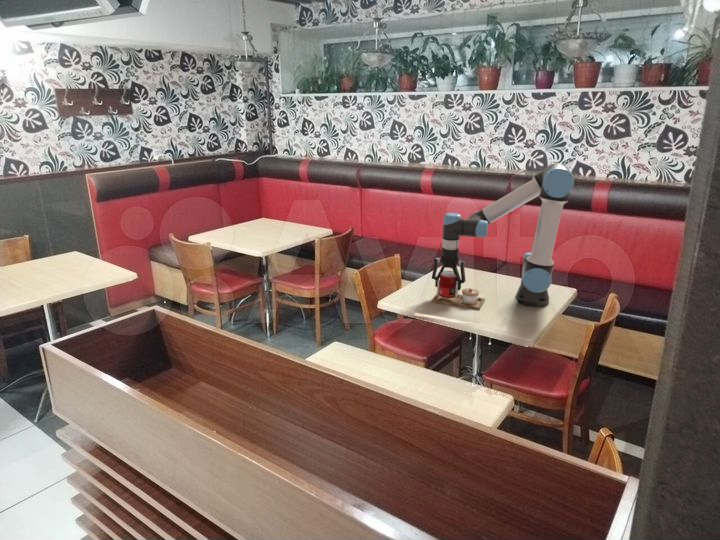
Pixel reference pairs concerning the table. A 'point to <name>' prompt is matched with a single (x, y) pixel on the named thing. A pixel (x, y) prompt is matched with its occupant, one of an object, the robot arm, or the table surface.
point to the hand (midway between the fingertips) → (447, 294)
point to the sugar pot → (470, 296)
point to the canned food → (447, 284)
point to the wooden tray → (457, 301)
